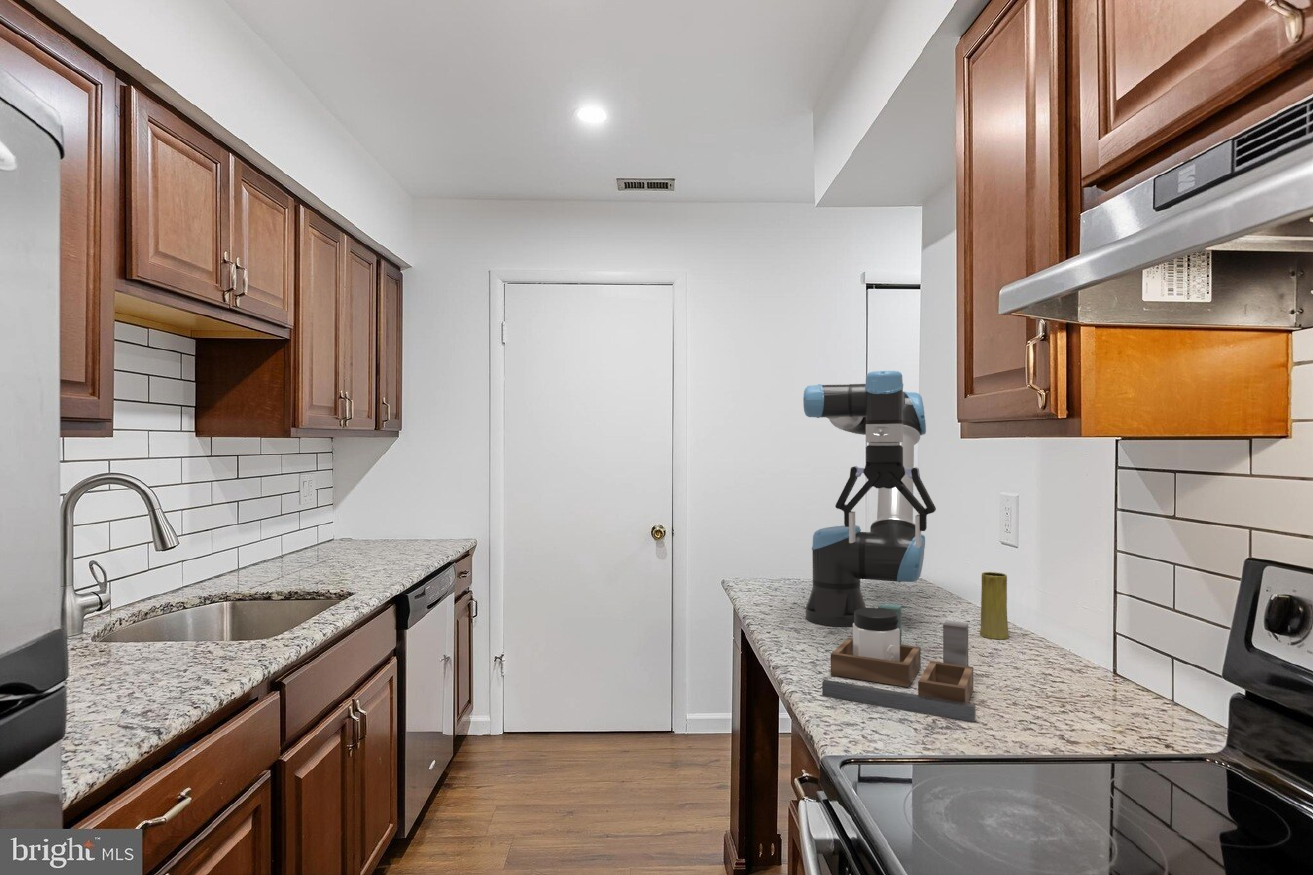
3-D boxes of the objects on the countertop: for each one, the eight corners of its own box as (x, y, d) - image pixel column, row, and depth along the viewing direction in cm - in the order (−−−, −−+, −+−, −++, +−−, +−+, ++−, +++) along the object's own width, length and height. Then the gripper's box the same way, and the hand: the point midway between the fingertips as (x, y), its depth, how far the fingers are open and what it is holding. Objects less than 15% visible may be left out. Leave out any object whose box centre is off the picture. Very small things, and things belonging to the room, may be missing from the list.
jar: (875, 684, 136) (875, 619, 136) (843, 672, 143) (843, 610, 143) (909, 676, 140) (908, 613, 140) (877, 664, 147) (876, 605, 147)
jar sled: (857, 646, 159) (857, 600, 159) (927, 656, 152) (927, 608, 152) (830, 674, 141) (830, 622, 141) (908, 686, 134) (908, 632, 134)
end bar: (824, 692, 131) (824, 679, 131) (975, 718, 119) (975, 704, 119) (822, 695, 130) (822, 682, 130) (974, 722, 118) (974, 707, 118)
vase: (1006, 641, 163) (1005, 577, 163) (976, 636, 167) (976, 574, 167) (1011, 635, 168) (1011, 573, 168) (983, 631, 172) (982, 570, 172)
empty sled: (936, 669, 143) (936, 619, 143) (978, 675, 140) (977, 623, 139) (918, 704, 125) (918, 646, 125) (964, 712, 121) (964, 652, 121)
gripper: (821, 444, 157) (821, 542, 157) (945, 445, 145) (945, 551, 146) (830, 443, 164) (830, 538, 164) (949, 444, 152) (949, 545, 152)
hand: (884, 544), depth 155 cm, fingers open, 13 cm apart
